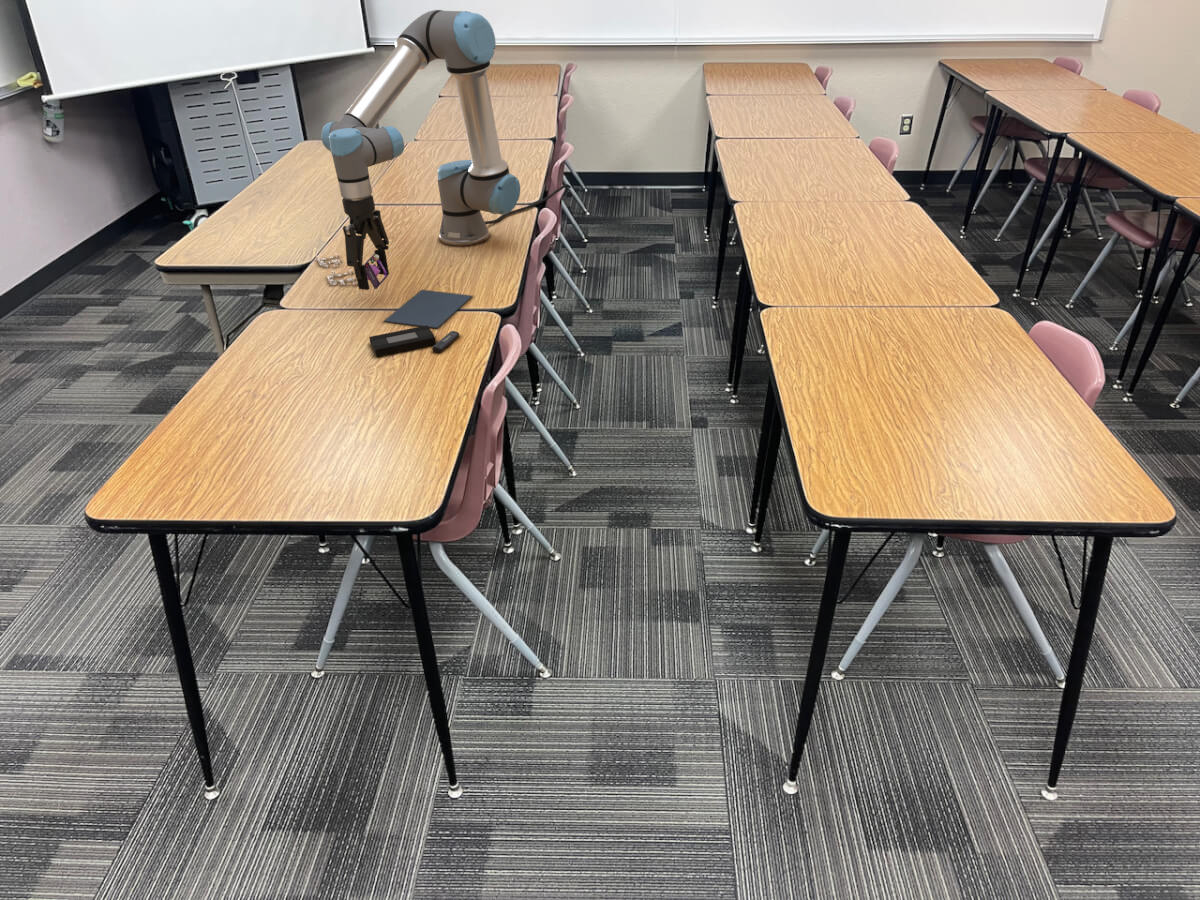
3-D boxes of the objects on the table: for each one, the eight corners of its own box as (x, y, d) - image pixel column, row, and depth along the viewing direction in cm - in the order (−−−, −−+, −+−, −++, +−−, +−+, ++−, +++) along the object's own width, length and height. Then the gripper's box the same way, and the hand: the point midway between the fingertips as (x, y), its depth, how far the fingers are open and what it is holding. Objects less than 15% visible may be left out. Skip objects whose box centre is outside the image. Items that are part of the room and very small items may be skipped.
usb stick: (440, 353, 192) (440, 348, 191) (431, 352, 192) (430, 346, 192) (460, 336, 199) (460, 331, 198) (451, 335, 200) (450, 329, 199)
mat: (422, 291, 222) (421, 289, 222) (471, 297, 218) (471, 295, 218) (384, 322, 207) (384, 320, 206) (437, 328, 203) (437, 327, 202)
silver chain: (340, 255, 245) (339, 251, 245) (357, 284, 227) (356, 279, 226) (316, 260, 243) (315, 255, 242) (331, 289, 224) (330, 284, 223)
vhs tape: (370, 344, 196) (369, 336, 195) (428, 332, 201) (427, 325, 200) (376, 357, 191) (375, 349, 190) (436, 345, 195) (435, 337, 194)
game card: (365, 264, 206) (378, 251, 213) (348, 270, 208) (361, 257, 215) (378, 288, 209) (390, 274, 217) (361, 294, 211) (374, 280, 218)
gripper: (367, 181, 210) (383, 264, 223) (318, 209, 193) (338, 297, 206) (392, 183, 208) (407, 266, 221) (345, 211, 191) (364, 300, 204)
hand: (374, 281), depth 213 cm, fingers closed on game card, 9 cm apart
